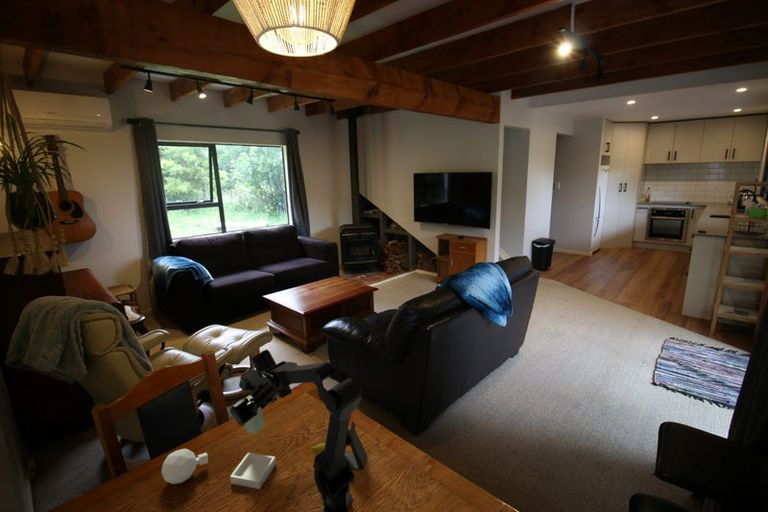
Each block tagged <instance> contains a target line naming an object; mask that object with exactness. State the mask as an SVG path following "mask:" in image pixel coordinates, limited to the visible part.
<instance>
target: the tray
mask: <svg viewBox="0 0 768 512" xmlns="http://www.w3.org/2000/svg"><path fill="white" fill-rule="evenodd" d="M276 460H277V459H276V456H272V455H266V454H261V453H254V452H247V454H246V455H245V456H244V457H243V459H242V460H241V462H240V463H239V464H238V465H237V466H236V468H235V469H234V470H233V472H232V473H231V475H230V476H229V477H230V484H231V485H236V486H241V487H246V488H252V489H257V490H261V488H262V487H263V485H264V484H265V482H266V480H267V478H268V477H269V476H270V475H271V472H272V471H273V470H274V468H275V467H276V466H277V461H276Z"/></svg>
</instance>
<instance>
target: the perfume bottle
mask: <svg viewBox="0 0 768 512" xmlns="http://www.w3.org/2000/svg"><path fill="white" fill-rule="evenodd" d="M208 463H209V454H208V453H207V452H204V453H200V454H198V455H197V457H196V455H195V452H193V451H192V450H190V449H188V448H181V449H177V450H175V451H173V452H171V453H169V454H168V455H167V456H166V458H165V460H164V462H163V464H162V466H161V467H162V468H161V475H162V477H163V480H164V481H165V482H166V483H167V482H168V483H169V484H171V485H176V484H181V483H183V482H185V481H186V480H188V479H190V478H192V475H193V474H194V472H195V470H196V468H197V465H199V466H202V465H206V464H208Z"/></svg>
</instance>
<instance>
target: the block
mask: <svg viewBox="0 0 768 512" xmlns="http://www.w3.org/2000/svg"><path fill="white" fill-rule="evenodd" d="M245 398H247V399H248V400H250V399H251V398H253V397H251V396H250V394H249V395H248V396H246V397H245ZM245 398H243V399H242V400H244V399H245ZM249 402H250V401H249ZM253 402H254V401H253ZM255 406H256V405H255ZM257 413H258V414H257V415H256V416H254V417H253V418H252V419H251V420H249V421H248V422H247V423H245V424H244V429H245V431H246V432H249V433H250V434H252V435H256V434H257V433H259V432H260V431H261V430H262V429H264V428H265V422H264V413H263V409H261V407H259V408H258V411H257Z"/></svg>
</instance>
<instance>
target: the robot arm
mask: <svg viewBox="0 0 768 512" xmlns="http://www.w3.org/2000/svg"><path fill="white" fill-rule="evenodd" d="M250 362H251V363H252V365H253V367H254V369H253V370H250V371H249V372H247V373H245V374H244V376H243V377H241V379H239V384H238V386H239V388H240V389H241V390H242V391H243V392H246V391H249V392H250V393H249V395H250V396H251V397H253V398H251V399H250V400H248V399H247V398H246V397H245V398H243V399H244V400H243V399H240V400H239V401H237V402H236V403H234V404H233V405H232V406H231V407H230V408H229V412H230V414H231V416H233V418H234V420H235V422H237V424H238V426H242V427H243V426H245V423H247V422H248V421H249V420H251V419H252V418H253V417H254V416H256V415H257V414H258V413H257V411H258V408H259V407H261V409H262V410H263V409H265V408H266V407H267V406H269V405H271V404H273V403H275V402H276V401H277V400H278V398H281V399H283V398H285V397H287V396H289V395H291V394H292V388H291V386H292V385H294V384H310V383H313V384H314V385H315V386H316V388H317V389H316V390H317V395H318V399H320V401H322V402H323V404H324V405H325V408H326V410H327V411H328V412H329V421H328V426H327V433H326V438H325V442H326V443H325V449H324V450H323V451H321V452H320V453H319V454H317V455H316V456H314V464H313V465H312V468H313V478H314V481H315V485H316V488H317V490H318V494H320V496H321V499H322V500H321V501H322V505H323V509H322V510H321V511H322V512H349V509H350V506H351V503H352V501H353V495H352V494H351V491H350V490H351V488H350V484H351V483H353V482H354V481H355V479H356V475H355V474H354V472H353V470H351V468H350V466H349V465H348V463H347V458H346V457H345V456H344V455H343V451H344V446H345V441H346V436H347V431H348V429H349V427H348V426H350V419H351V416H352V414H353V412H354V411H355V410H356V408H357V407H358V406H359V404H360V401H361V399H362V397H363V391H362V390H363V389H362V386H361V384H360V383H359V382H358V381H357V380H356V379H355V378H354V377H353V376H352V375H351V374H350V373H349V372H348V371H345V370H342V369H340V368H337V367H335V366H334V365H332V364H331V362H329V361H322V362H319V363H311V364H301V365H298V363H297V362H293V361H285V360H282V361H280V362H278V363H276V360H275V358H274V357H273V355H272V353H271V351H270V350H269V349H267V348H266V349H264V350H262V351H260V352H259V353H257V354H256V355H254V356H253V357H251V359H250ZM327 379H330V380H334V381H335V382H339V383H338V384H336V385H335V386H333V387H331V388H329V389H328V390H327V388H325V386H324V383H323V381H325V380H327ZM249 401H250V402H249ZM253 401H254V402H253ZM255 405H256V406H255Z"/></svg>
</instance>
